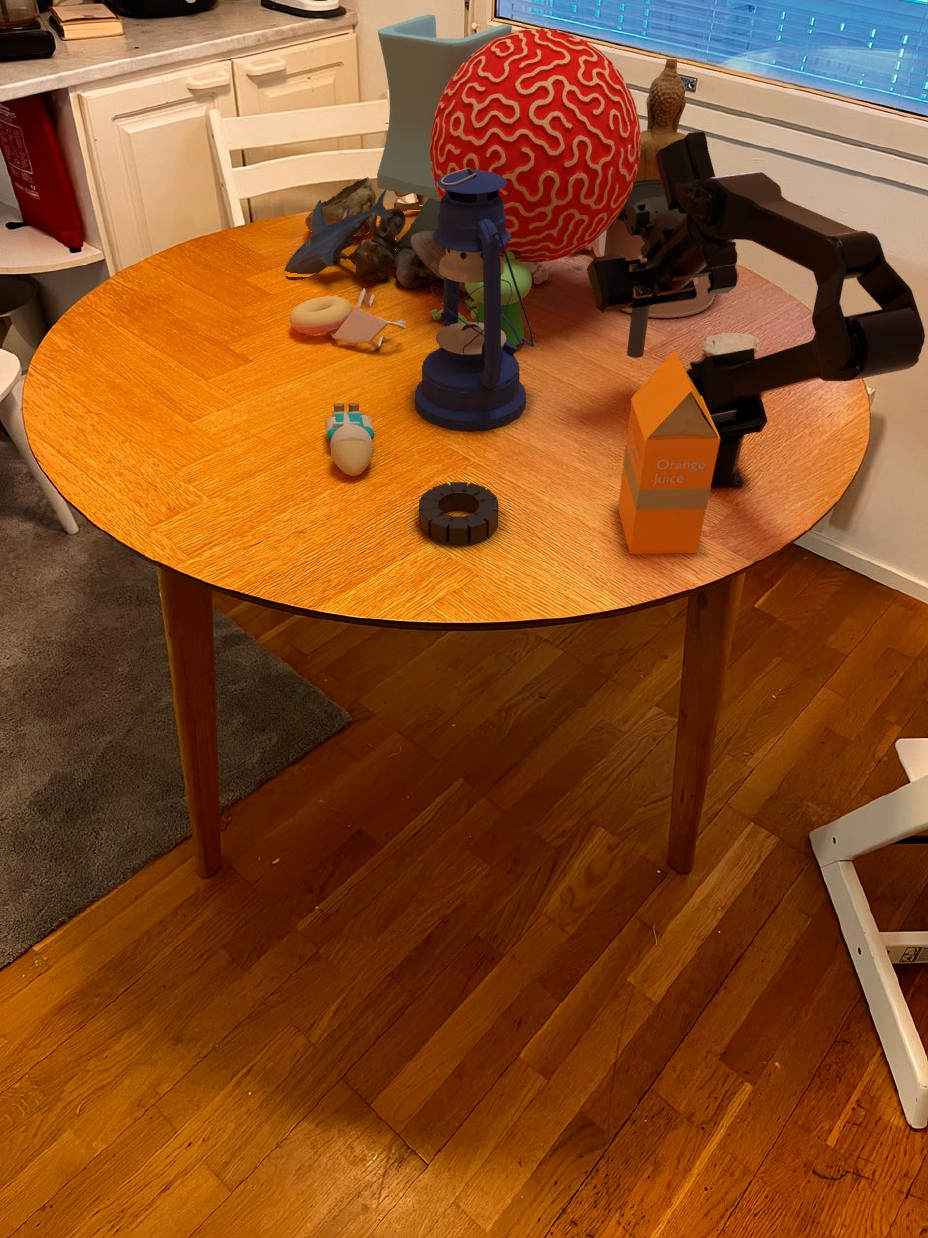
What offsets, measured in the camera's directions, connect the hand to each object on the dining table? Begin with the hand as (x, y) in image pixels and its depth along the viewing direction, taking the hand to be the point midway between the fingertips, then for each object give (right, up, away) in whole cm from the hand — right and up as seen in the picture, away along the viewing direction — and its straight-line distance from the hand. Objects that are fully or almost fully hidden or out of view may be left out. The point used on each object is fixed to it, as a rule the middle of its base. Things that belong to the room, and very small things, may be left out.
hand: (636, 302), depth 126 cm
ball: (-15, +22, +27) cm, 38 cm away
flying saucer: (-26, +15, +31) cm, 43 cm away
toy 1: (-44, +24, +33) cm, 60 cm away
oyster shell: (-37, +26, +42) cm, 61 cm away
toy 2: (-38, -14, +1) cm, 40 cm away
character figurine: (+3, +23, +36) cm, 43 cm away
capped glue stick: (0, -6, +3) cm, 7 cm away
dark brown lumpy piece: (-34, +27, +32) cm, 54 cm away
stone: (+18, -1, +17) cm, 25 cm away
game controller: (-8, +17, +37) cm, 41 cm away
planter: (-26, +21, +41) cm, 53 cm away
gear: (-23, -30, -15) cm, 41 cm away
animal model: (-33, +34, +50) cm, 69 cm away
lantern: (-22, -12, +5) cm, 25 cm away
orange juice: (-1, -31, -16) cm, 35 cm away
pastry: (-46, +34, +46) cm, 73 cm away
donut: (-49, +4, +22) cm, 54 cm away
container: (+9, +12, +31) cm, 34 cm away
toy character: (-20, +2, +21) cm, 28 cm away
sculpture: (+11, +27, +48) cm, 56 cm away
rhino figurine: (-28, +19, +35) cm, 49 cm away
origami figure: (-36, +3, +19) cm, 41 cm away
